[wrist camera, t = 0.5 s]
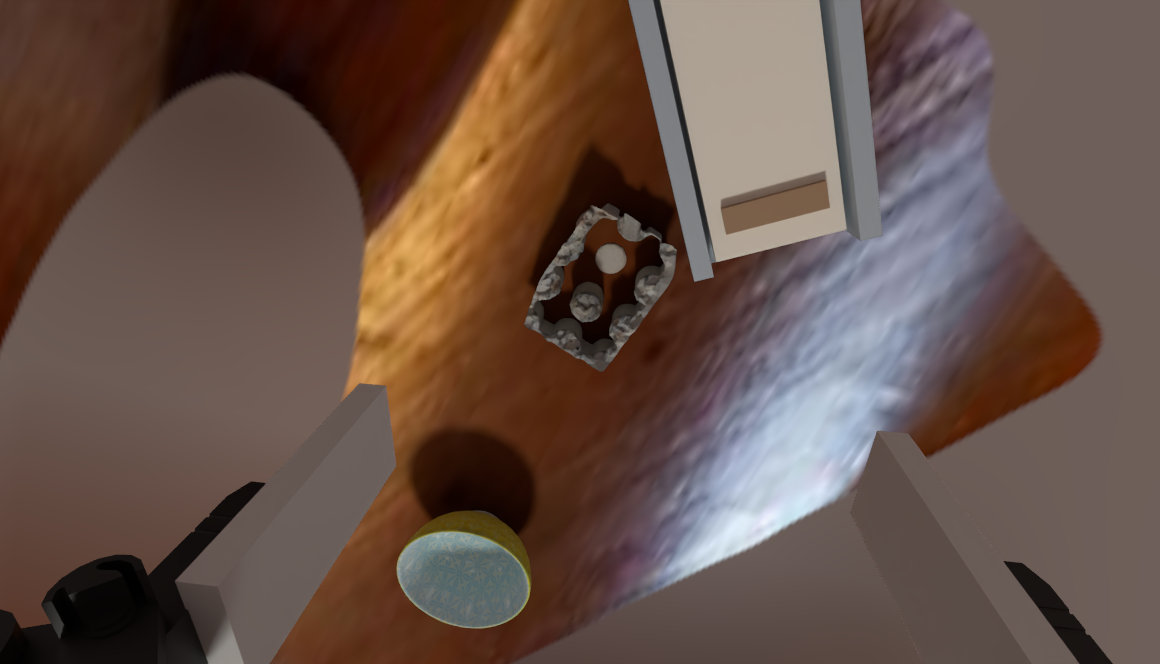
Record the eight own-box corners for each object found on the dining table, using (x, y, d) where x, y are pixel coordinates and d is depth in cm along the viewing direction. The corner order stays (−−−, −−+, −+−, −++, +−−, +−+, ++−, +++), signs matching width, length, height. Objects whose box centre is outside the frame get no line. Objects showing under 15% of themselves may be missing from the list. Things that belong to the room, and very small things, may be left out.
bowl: (547, 575, 53) (536, 633, 47) (434, 571, 55) (410, 626, 49) (536, 481, 49) (521, 533, 43) (412, 479, 50) (383, 528, 44)
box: (621, -27, 32) (618, -45, 28) (816, -100, 30) (847, -134, 25) (688, 258, 39) (694, 281, 34) (852, 217, 36) (882, 235, 32)
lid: (654, -16, 30) (655, -23, 28) (800, -69, 29) (812, -82, 27) (713, 254, 36) (717, 264, 34) (837, 222, 35) (849, 231, 32)
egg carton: (596, 187, 38) (591, 198, 34) (685, 245, 39) (690, 262, 35) (522, 306, 42) (510, 327, 38) (604, 356, 43) (600, 382, 39)
